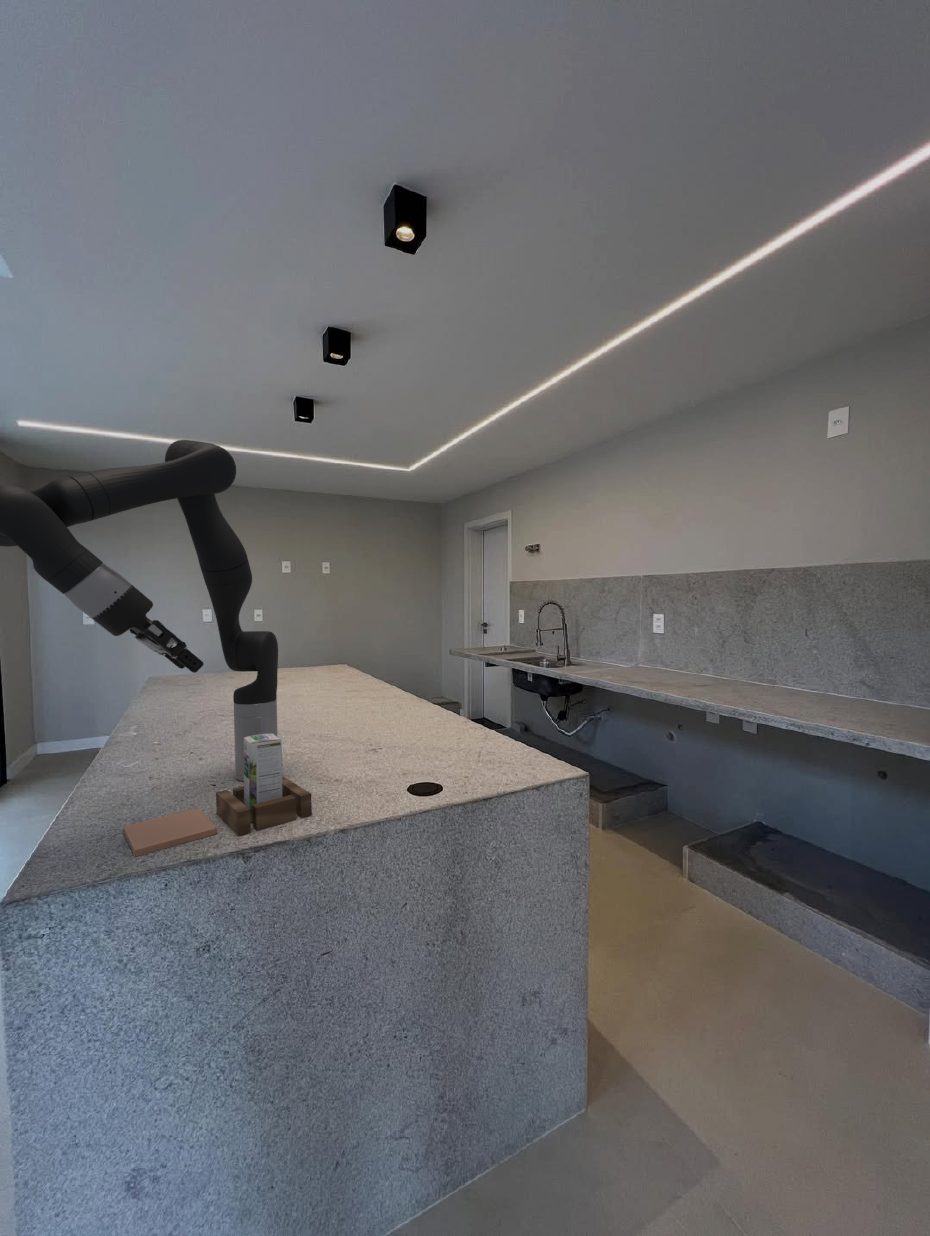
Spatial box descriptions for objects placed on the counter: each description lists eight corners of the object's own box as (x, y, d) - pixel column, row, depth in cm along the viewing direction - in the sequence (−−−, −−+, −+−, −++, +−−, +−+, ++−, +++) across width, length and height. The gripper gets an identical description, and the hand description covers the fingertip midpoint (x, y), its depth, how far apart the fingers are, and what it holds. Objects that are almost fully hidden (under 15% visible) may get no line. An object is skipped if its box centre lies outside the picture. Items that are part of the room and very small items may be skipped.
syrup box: (243, 813, 97) (241, 736, 97) (275, 805, 101) (273, 731, 101) (251, 823, 93) (249, 743, 92) (284, 815, 96) (282, 737, 96)
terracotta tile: (123, 831, 90) (122, 826, 90) (198, 813, 98) (198, 807, 98) (134, 856, 81) (134, 850, 81) (217, 833, 89) (216, 827, 89)
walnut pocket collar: (216, 813, 98) (216, 792, 97) (284, 796, 106) (284, 776, 106) (238, 836, 88) (238, 812, 88) (311, 814, 96) (311, 793, 96)
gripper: (138, 580, 77) (221, 652, 85) (122, 584, 88) (197, 648, 96) (95, 617, 74) (186, 688, 82) (84, 616, 84) (166, 679, 92)
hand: (192, 666), depth 89 cm, fingers open, 8 cm apart
